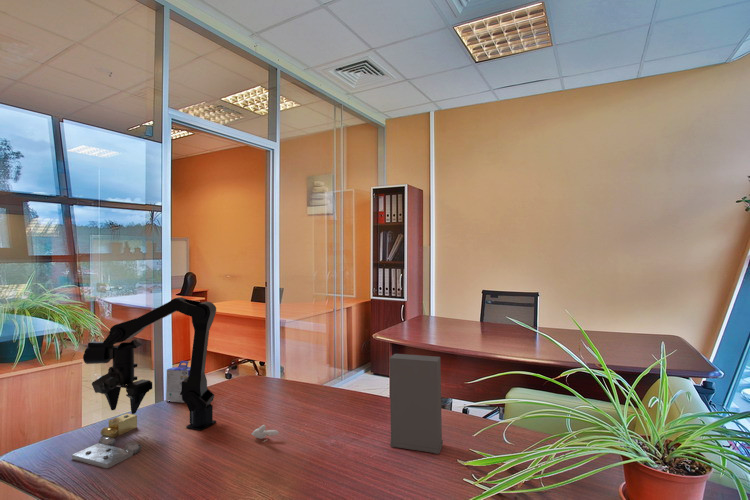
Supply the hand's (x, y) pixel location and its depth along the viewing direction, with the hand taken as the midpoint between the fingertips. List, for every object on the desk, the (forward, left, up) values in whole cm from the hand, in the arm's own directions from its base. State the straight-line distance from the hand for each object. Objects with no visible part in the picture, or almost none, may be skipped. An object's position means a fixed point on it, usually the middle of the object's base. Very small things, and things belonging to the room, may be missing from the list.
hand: (123, 411), depth 120 cm
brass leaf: (0, +1, -6) cm, 6 cm away
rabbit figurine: (-47, -9, -6) cm, 48 cm away
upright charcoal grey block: (-90, -21, -6) cm, 93 cm away
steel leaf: (-11, +12, -6) cm, 17 cm away
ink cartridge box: (+4, -26, -6) cm, 27 cm away
